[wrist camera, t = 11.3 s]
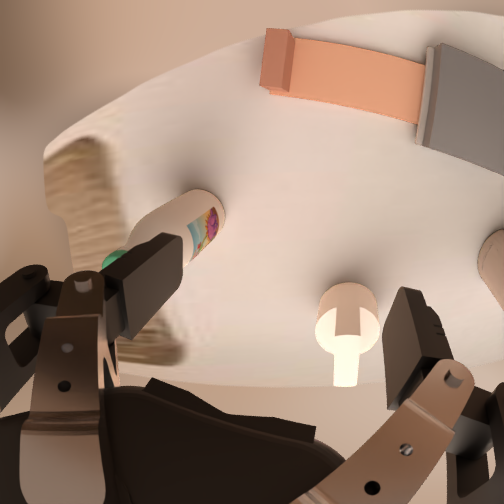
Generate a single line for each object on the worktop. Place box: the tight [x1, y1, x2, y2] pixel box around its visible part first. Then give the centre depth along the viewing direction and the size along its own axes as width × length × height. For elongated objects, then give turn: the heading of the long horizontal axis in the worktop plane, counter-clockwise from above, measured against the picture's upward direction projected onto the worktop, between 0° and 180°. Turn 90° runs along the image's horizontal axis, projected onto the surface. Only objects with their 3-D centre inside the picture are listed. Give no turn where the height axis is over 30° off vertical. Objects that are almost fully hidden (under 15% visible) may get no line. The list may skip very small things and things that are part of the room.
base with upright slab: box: [315, 282, 380, 387], centre depth 39 cm, size 9×9×12 cm
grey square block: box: [415, 43, 504, 176], centre depth 26 cm, size 13×13×5 cm
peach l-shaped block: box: [259, 28, 425, 125], centre depth 28 cm, size 20×8×6 cm, turn 83°
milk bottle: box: [102, 189, 225, 269], centre depth 36 cm, size 8×8×20 cm
